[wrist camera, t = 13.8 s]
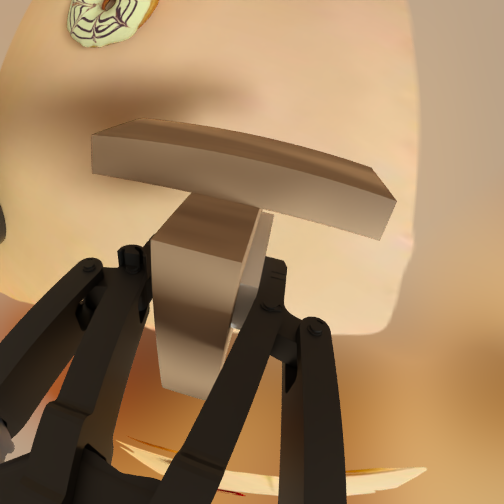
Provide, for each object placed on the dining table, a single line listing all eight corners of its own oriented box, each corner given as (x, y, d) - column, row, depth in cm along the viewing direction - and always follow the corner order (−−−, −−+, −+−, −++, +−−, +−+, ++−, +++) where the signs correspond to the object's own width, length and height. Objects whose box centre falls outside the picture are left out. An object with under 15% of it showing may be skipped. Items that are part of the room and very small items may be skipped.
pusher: (310, 314, 22) (306, 420, 14) (140, 270, 22) (82, 354, 14) (371, 167, 15) (431, 253, 7) (141, 118, 15) (31, 161, 8)
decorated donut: (150, 48, 22) (131, 46, 19) (75, 49, 21) (54, 50, 18) (176, -35, 16) (160, -47, 13) (96, -26, 15) (76, -31, 12)
